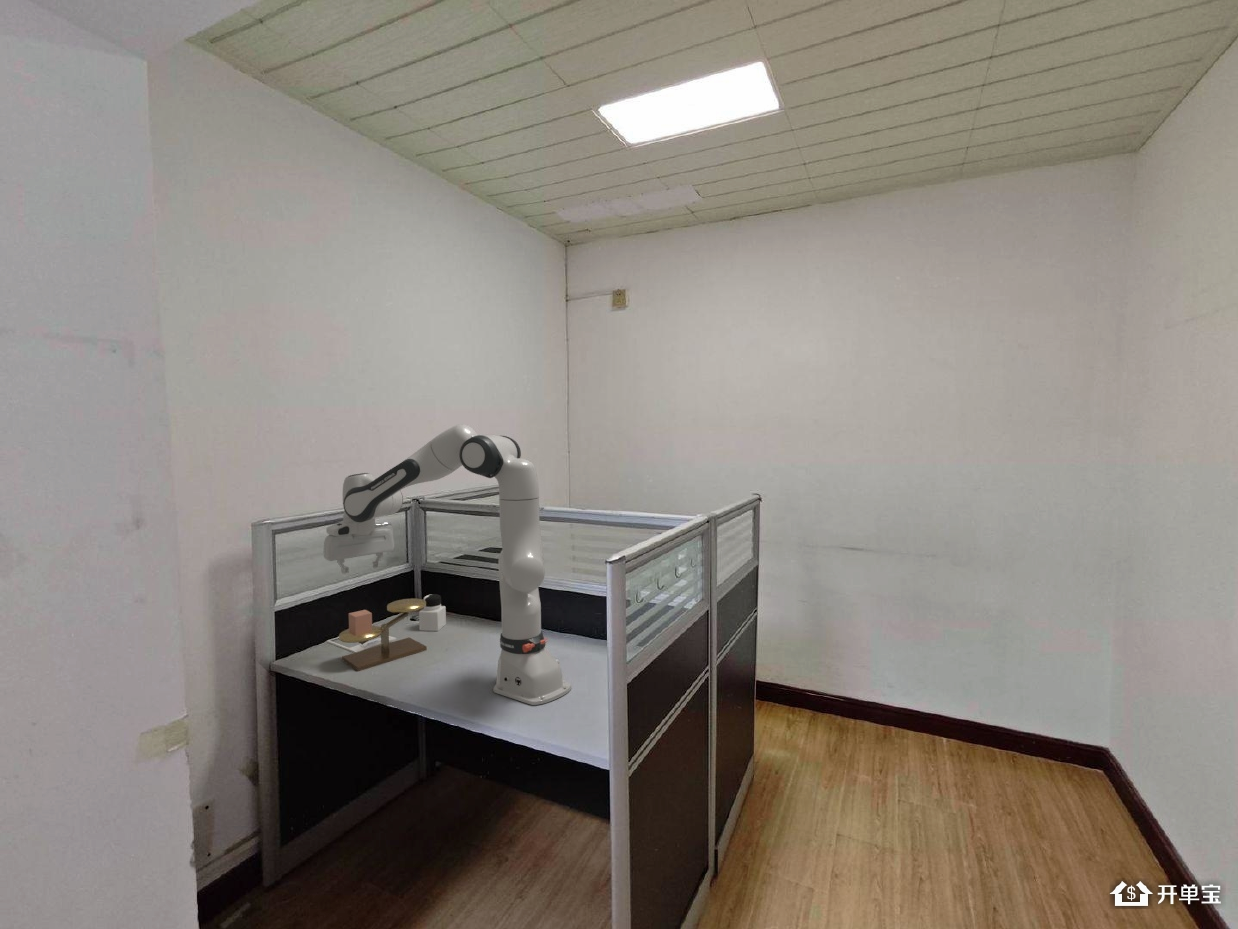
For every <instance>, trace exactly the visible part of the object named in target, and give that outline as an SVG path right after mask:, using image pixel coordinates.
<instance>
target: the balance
mask: <svg viewBox="0 0 1238 929" xmlns="http://www.w3.org/2000/svg"><path fill="white" fill-rule="evenodd" d="M425 606H426V601H425V600H424V598H423V599H422V598H403V599H399V600H398V599H397V600H393V601H392V602H390V603H387V605H386V610H387V612H390V613H397V614H399V613H400V615H398V616H395V617H394V618H393V619H392V620H391V619H390V621H388V622H386V623H382V624H381V625H380V626H377V625H372V632H370V633H367V634H363V635H359V636H354V635H353V634H351V633H349V628H347V629H344V630H342V631H341V632H340V633H339V635H338V637H339V639H338V640H339V641H340V642H342V643H349V644H350V643H354V644H355V643H359V644H364V643H366V642H369V641H372V640H375V639H377V638H379V637H380V638H381V645H380V646H377V647H374V648H370V649H367V650H363V651H360V652H356V653H353V652H352V653H350V654H347V655H343V656H341V661H343V662H344V663H345V664H347V665H348V666H349V667H351V668H352V669H354V670H355V671H356V672H360V671H362V670H364V671H365V670H367V669H369V668H373V667H376V666H379V665H383V664H386V663H388V662H393V661H396V660H399V659H402V658H405V657H409V656H413V655H415V654H418V653H421V652H425V651H427V645H425V644H422V643H421V642H419V641H417V640H415V639H413V638H411V637H406V638H402V639H399V640H398V639H397V640H394V641H391V642H389V636H390V631H389V630H390V628H391V627H393V626H394V625H395V624H397V623H399V622H400V621H402V620H404V619H406V618H407V617H408V616H409V614H410V613H412V612H416V611H421V610H422V609H424V607H425Z"/></svg>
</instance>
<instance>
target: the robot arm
mask: <svg viewBox="0 0 1238 929" xmlns="http://www.w3.org/2000/svg"><path fill="white" fill-rule="evenodd" d="M462 466H463V468H464V469H466V470H467V471H468V472H470V473H472V474H476V475H478V476H483V477H485V478H488V479H492V478H495V479H496V481H497V483H498V492H499V494H498V495H499V496H498V498H499V499H498V501H499V502H498V504H499V506H498V507H499V529H500V538H501V546H502V548H501V551H500V553H499V557H498V561H497V562H498V564H497V565H498V580H499V581H498V582H499V591H500V592H499V594H500V595H499V596H500V606H501V633H500V638H499V642H500V643H499V646H500V648H501V651H500V655H499V657H498V660H497V661H498V662H497V670H496V684H495V685H494V686H493V693H494V694H498V695H501V696H505V697H507V698H510V699H511V700H512V699H513V700H516V701H519V702H522V703H524V704H528V705H530V706H531V705H532V706H537V705H543V704H546V703H549V702H552V701H555V700H557V699H559V698H561V697H563V696H564V695H566V694H567V693H569V692H570V691H571V689H572V683H570V682H568V681H567V680H566V679H564V678H563V671H562V668H561V664H560V661H559V659H558V658H555V657H554V656H553V655H552V653H551V652H550V651H549V649H548V648H547V644H546V643H547V640H548V638H545V637H544V636H545V635H544V633H543V630H542V611H541V610H542V606H541V605H542V603H541V598H540V591H539V587H540V586H541V585H542V583H543V581H544V580H545V576H546V575H545V574H546V570H545V562H544V548H543V541H542V534H541V533H542V532H541V526H540V525H541V524H540V490H539V481H538V475H537V470H536V467H535V464H534V463H533V462H532V461H531V460H528V459H525V458H522V452H521V447H520V445H519V444H518V443H517V441H516V440H514V439H513V438H512V437H509V436H507V435H497V434H483V435H482V434H481V435H480V434H479V435H478V433H477V432H476V431H475V430H474V428H472V427H471V426H469V425H468V424H463V423H460V424H456V425H454V426H452V427H450V428H448V429H446V430H444V431H442V432H441V433H439V434H438V435H436V436H435V437H434V438H432V439H430V441H428V442H427V443H426V444H424V445H423V446H422V447H421V448H419V449H418V450H417V451H415V452H414V453H413V454H411V455H409V456H408V457H407V458H405V459H404V460H402V461H401V462H400V463H398V464H396V465H394V466H393V467H392V468H389V470H387V471H386V472H384V473H383V474H381V475H380V476H378V477H375V476H374V475H373V474H371V473H370V472H369V473H368V472H364V473H363V472H362V473H356V474H350V475H348V476H346V477H345V478H344V480H343V484H342V505H343V506H342V507H343V510H344V512H343V516H342V520H341V521H339V522H336V523H335V524H332V525H330V526H327V527H326V530H325V532H326V533H327V534H328V535H327V536H326V537H325V539H324V541H323V558H324V559H325V561H328V562H334V561H336V563H337V564H338V566H339V567H340V568H341V574H349V567H348V566H345V564H344V563H345V560H346V559H352V558H357V557H358V558H359V557H364V556H369V555H370V556H371V555H375V556H376V559H375V561H374V560H373V561H372V567H373V568H374V569H376V568H380V567H381V565H380V562H381V561H382V559H383V557H384V553H389V552H393V550H394V549H395V539H394V535H393V534H394V527H393V525H392V524H391V523H389V522H382V523H376V519H378V518H382V517H386V516H392V515H394V514H396V513H399V511H400V510H401V509H402V507H403V503H404V496H403V493H402V491H401V490H403V489H405V488H408V487H410V486H413V485H418V484H423V483H428V482H433V481H437V480H440V479H444V478H445V477H446V476H448V475H451V474H452V473H454V472H455V471H457V470H458V469H459V468H461V467H462Z"/></svg>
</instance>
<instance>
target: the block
mask: <svg viewBox="0 0 1238 929" xmlns="http://www.w3.org/2000/svg"><path fill="white" fill-rule="evenodd" d="M372 626H373V613H372V612H370V611H369V610H367V609H363V610H358V611H354V612H349V613H348V629H349V633H351V634H353V635H354V636H359V635H363V634H367V633H370V632H372Z"/></svg>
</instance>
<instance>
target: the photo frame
mask: <svg viewBox="0 0 1238 929" xmlns="http://www.w3.org/2000/svg"><path fill="white" fill-rule="evenodd" d="M338 638H339V636H337V637H335V638H331V639H328V640H326V643H328V644H331V645H333V646H335V647H339V648H341V649H343V650H345V651H349V652H351V653H352V654H353V653H356V652H360V651H363V650H367V649H370V648H374V647H377V646H381V637H377V638H374V639H371V640H369V641H367V642H366V643H364V644H361V643H359V644H357V645H353V646H351V647H347V646H345V645H342V644H340V643H338V642H335V640H339V639H338ZM395 641H398V637H397V638H396V637H394V636H391V635H389V643H391V642H395Z"/></svg>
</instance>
